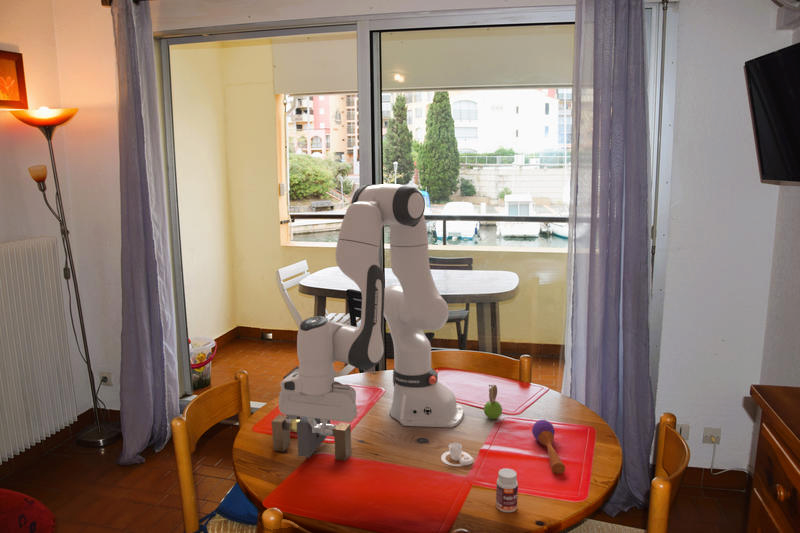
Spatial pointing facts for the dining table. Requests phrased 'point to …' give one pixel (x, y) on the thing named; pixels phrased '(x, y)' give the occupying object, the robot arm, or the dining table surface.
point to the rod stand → (339, 432)
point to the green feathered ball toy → (492, 404)
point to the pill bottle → (507, 490)
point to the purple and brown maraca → (548, 443)
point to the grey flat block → (308, 437)
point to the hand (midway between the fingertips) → (318, 432)
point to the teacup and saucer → (457, 455)
